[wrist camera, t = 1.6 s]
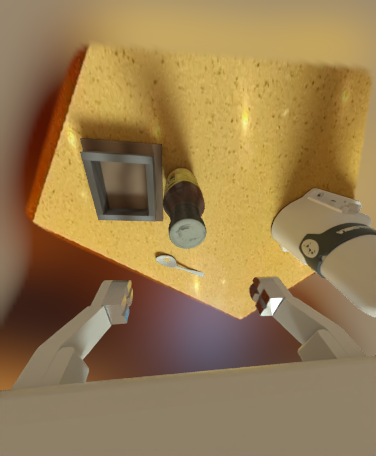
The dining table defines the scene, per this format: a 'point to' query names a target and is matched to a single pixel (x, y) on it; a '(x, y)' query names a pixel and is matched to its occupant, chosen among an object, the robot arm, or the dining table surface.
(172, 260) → the spoon
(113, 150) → the box
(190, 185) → the sauce bottle
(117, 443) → the robot arm
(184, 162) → the dining table surface
